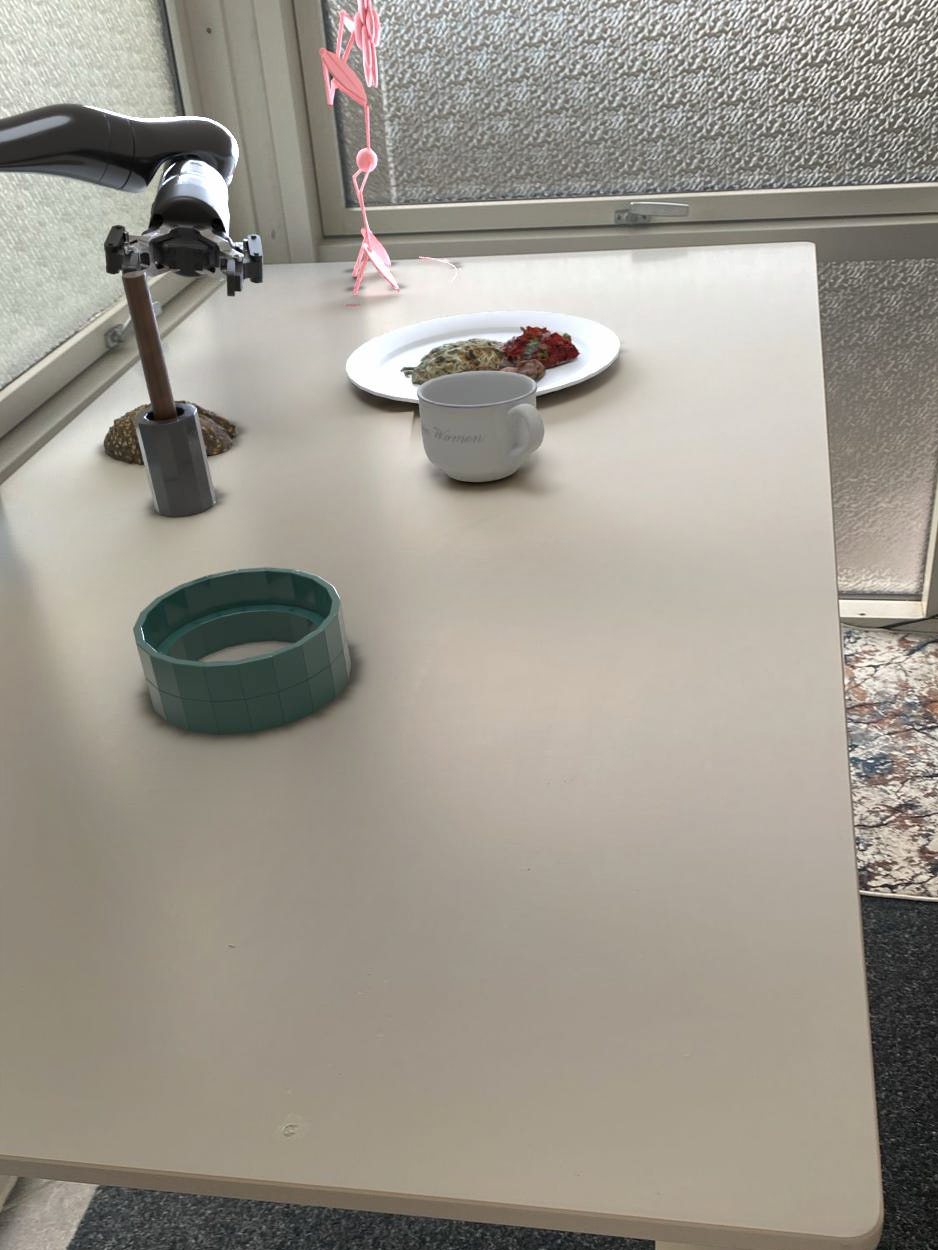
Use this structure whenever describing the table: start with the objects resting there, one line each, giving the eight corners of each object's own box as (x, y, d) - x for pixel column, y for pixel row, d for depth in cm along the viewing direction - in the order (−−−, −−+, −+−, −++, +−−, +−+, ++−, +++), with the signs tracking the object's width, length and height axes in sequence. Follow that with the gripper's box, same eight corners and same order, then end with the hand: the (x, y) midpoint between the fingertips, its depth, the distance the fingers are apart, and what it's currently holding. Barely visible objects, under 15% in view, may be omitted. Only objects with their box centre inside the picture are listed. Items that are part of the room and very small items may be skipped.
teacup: (407, 466, 126) (396, 382, 121) (507, 439, 130) (501, 355, 125) (473, 515, 116) (465, 425, 111) (580, 484, 120) (577, 395, 115)
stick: (172, 509, 121) (118, 278, 109) (177, 500, 123) (124, 272, 110) (194, 508, 121) (142, 276, 109) (198, 499, 123) (147, 269, 110)
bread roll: (91, 455, 136) (78, 406, 133) (190, 417, 142) (180, 370, 139) (162, 482, 128) (150, 431, 125) (264, 441, 135) (254, 392, 131)
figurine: (347, 314, 168) (301, -15, 146) (347, 262, 188) (307, -34, 167) (468, 301, 168) (440, -30, 147) (454, 250, 188) (428, -47, 167)
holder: (152, 525, 120) (128, 427, 115) (164, 500, 125) (141, 405, 119) (211, 520, 120) (189, 422, 114) (221, 496, 124) (200, 400, 119)
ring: (134, 749, 90) (112, 672, 87) (174, 646, 102) (156, 574, 98) (342, 736, 90) (328, 658, 86) (359, 634, 101) (348, 561, 97)
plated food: (294, 381, 149) (289, 350, 147) (493, 312, 163) (491, 283, 161) (471, 441, 130) (468, 407, 128) (677, 357, 145) (678, 325, 143)
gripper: (264, 267, 134) (263, 329, 122) (118, 258, 132) (103, 320, 120) (263, 187, 129) (262, 244, 117) (112, 176, 127) (95, 232, 115)
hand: (181, 282), depth 119 cm, fingers open, 8 cm apart
